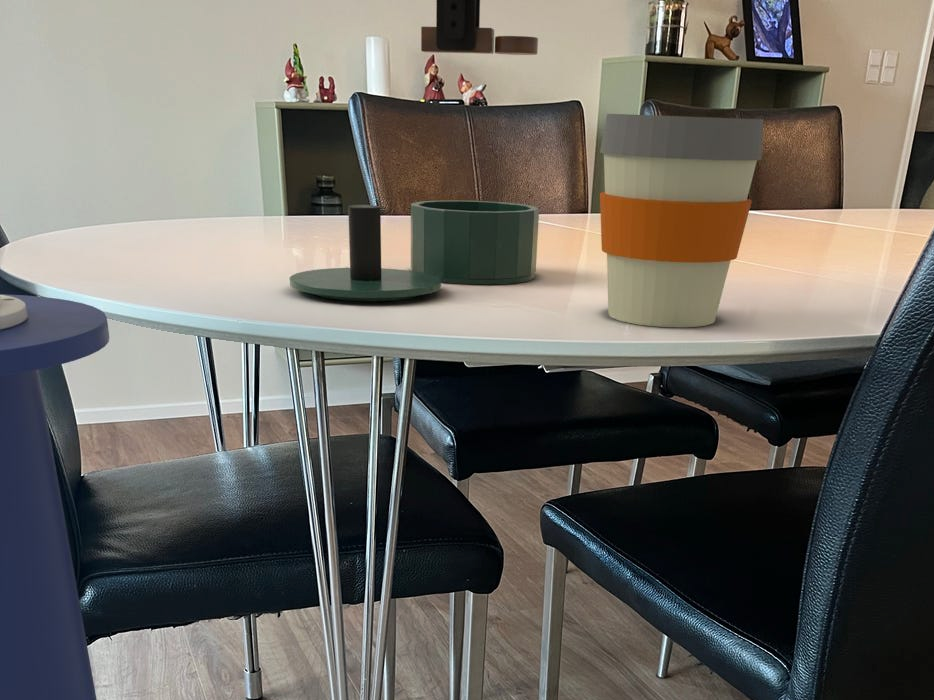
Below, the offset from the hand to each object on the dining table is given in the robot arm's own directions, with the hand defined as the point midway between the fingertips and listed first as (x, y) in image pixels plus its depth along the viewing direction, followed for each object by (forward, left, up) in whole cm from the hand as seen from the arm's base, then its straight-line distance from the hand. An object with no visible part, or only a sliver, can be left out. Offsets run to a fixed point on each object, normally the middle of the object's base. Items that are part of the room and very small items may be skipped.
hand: (457, 49), depth 84 cm
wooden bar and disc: (+2, -2, 0) cm, 3 cm away
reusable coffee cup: (+6, -20, -20) cm, 29 cm away
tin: (+8, +6, -19) cm, 22 cm away
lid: (-8, +3, -19) cm, 21 cm away
